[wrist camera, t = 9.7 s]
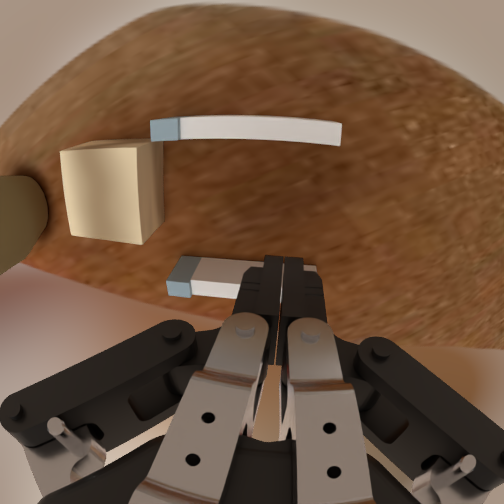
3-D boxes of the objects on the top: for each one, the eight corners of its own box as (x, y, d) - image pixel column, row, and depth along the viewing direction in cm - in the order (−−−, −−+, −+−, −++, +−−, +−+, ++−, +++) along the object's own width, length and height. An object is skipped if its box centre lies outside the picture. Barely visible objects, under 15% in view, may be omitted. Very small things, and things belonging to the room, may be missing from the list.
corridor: (332, 121, 15) (343, 124, 12) (313, 279, 21) (317, 308, 18) (172, 116, 16) (150, 120, 13) (183, 268, 22) (168, 295, 19)
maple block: (164, 138, 17) (136, 147, 14) (165, 219, 20) (142, 244, 17) (94, 140, 18) (60, 151, 14) (100, 213, 20) (71, 235, 17)
